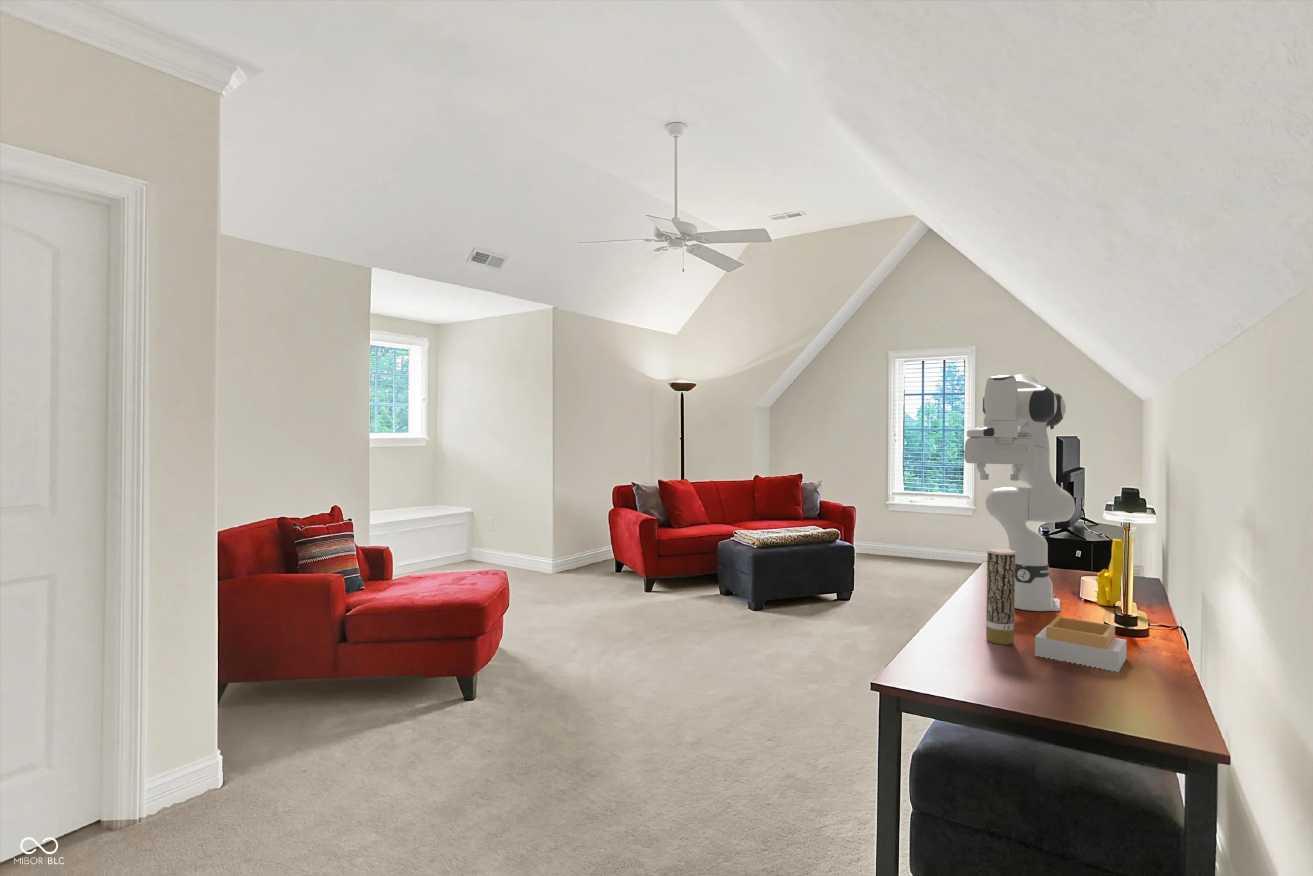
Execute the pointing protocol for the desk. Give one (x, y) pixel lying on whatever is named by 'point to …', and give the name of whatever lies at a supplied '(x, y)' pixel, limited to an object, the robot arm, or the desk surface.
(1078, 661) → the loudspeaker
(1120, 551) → the figure statuette
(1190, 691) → the desk surface
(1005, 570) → the paper tube
